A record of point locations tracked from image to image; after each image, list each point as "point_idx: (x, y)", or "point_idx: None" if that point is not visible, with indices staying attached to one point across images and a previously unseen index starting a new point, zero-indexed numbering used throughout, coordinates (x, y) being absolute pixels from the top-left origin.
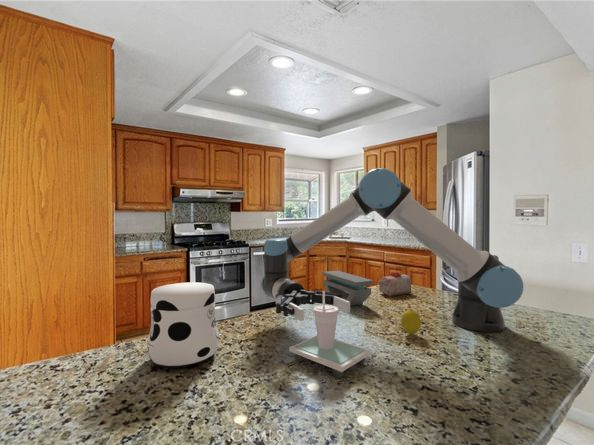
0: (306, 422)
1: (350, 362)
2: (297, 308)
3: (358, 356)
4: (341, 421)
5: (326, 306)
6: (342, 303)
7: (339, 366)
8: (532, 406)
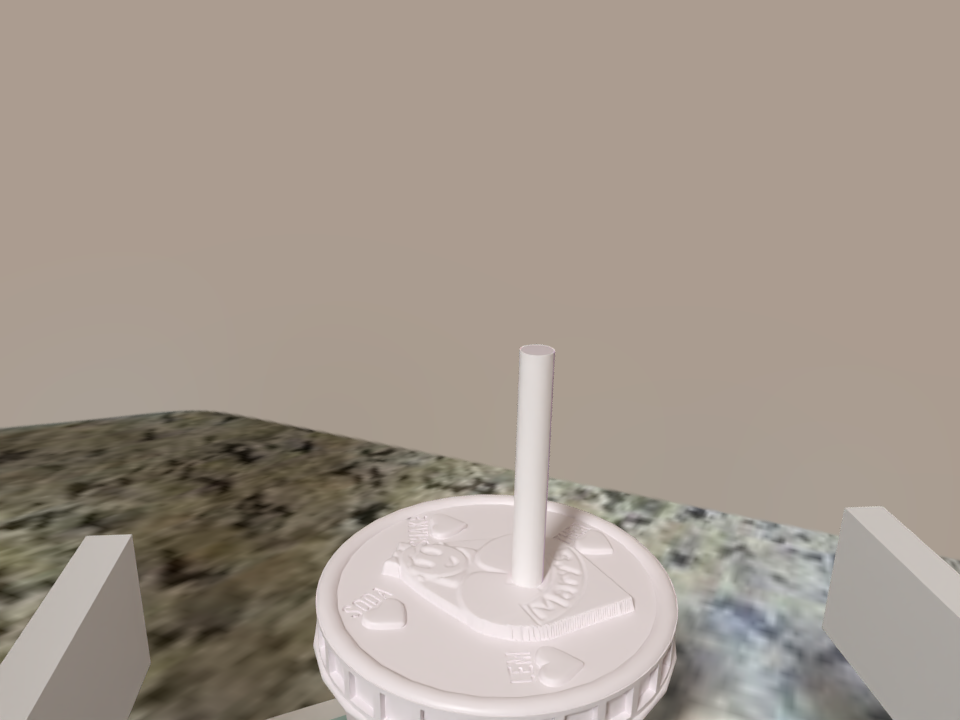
0: (779, 569)
1: None
2: (938, 564)
3: (328, 708)
4: (646, 543)
5: (432, 649)
6: (93, 668)
7: None
8: (24, 446)
